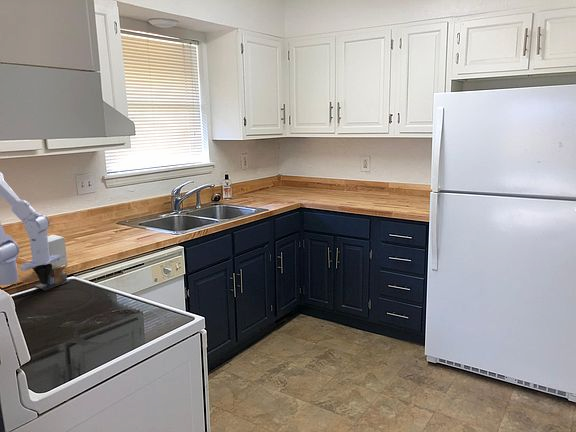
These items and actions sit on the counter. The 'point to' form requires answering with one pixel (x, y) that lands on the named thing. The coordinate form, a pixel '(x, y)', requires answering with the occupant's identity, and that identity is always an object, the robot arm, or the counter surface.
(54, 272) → the walnut block
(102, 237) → the counter surface
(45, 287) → the vise frame
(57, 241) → the supplement box
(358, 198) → the counter surface
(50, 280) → the vise jaw
